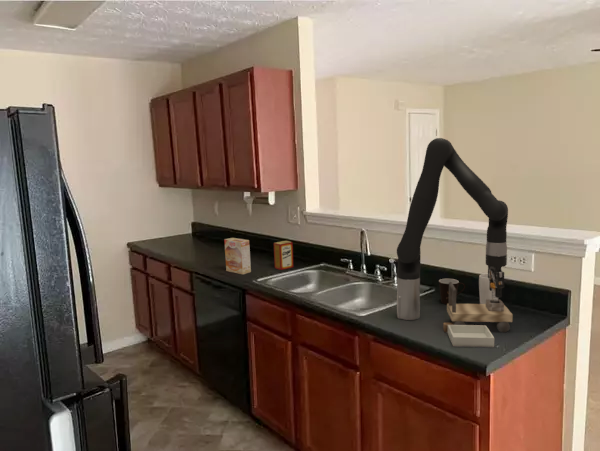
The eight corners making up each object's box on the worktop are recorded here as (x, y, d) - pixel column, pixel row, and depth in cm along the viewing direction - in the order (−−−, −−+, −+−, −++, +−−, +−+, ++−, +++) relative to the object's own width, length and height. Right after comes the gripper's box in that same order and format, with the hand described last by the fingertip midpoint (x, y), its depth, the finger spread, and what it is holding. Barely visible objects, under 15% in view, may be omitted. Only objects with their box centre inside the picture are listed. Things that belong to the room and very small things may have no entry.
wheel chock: (444, 332, 185) (444, 325, 184) (443, 329, 187) (443, 322, 187) (454, 332, 184) (454, 325, 184) (452, 329, 187) (452, 322, 186)
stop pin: (490, 310, 186) (491, 284, 184) (488, 307, 189) (489, 281, 188) (500, 310, 185) (501, 284, 184) (498, 307, 189) (498, 281, 187)
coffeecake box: (225, 271, 290) (223, 239, 286) (234, 268, 295) (232, 237, 292) (242, 274, 280) (240, 241, 277) (251, 272, 285) (249, 239, 282)
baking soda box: (280, 270, 287) (279, 243, 285) (274, 268, 293) (273, 242, 290) (293, 267, 293) (292, 241, 290) (287, 265, 298) (286, 240, 296)
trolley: (451, 331, 185) (452, 289, 182) (446, 320, 197) (447, 281, 194) (511, 332, 182) (513, 290, 179) (503, 321, 194) (504, 281, 191)
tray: (453, 346, 171) (453, 337, 171) (447, 333, 183) (447, 324, 183) (494, 347, 170) (494, 337, 169) (485, 334, 181) (485, 325, 181)
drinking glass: (478, 306, 212) (479, 273, 210) (495, 307, 210) (496, 274, 207) (477, 311, 206) (478, 277, 204) (494, 312, 203) (496, 278, 201)
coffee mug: (438, 304, 216) (438, 283, 214) (438, 299, 224) (438, 278, 222) (465, 306, 213) (466, 284, 211) (464, 300, 221) (465, 279, 219)
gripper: (481, 249, 191) (480, 288, 194) (490, 257, 177) (490, 299, 180) (501, 248, 190) (500, 288, 193) (512, 257, 176) (511, 299, 179)
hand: (495, 293), depth 186 cm, fingers open, 8 cm apart
